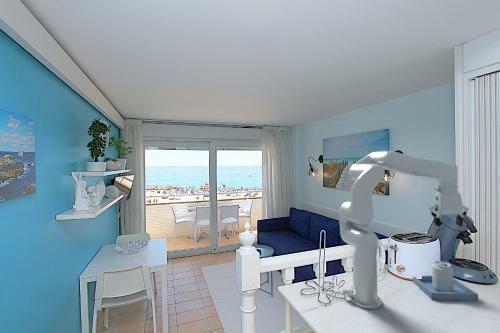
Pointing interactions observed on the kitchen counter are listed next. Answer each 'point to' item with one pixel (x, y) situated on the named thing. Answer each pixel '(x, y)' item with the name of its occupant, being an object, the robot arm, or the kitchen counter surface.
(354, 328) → the kitchen counter surface
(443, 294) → the tray
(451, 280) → the can
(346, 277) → the kitchen counter surface
